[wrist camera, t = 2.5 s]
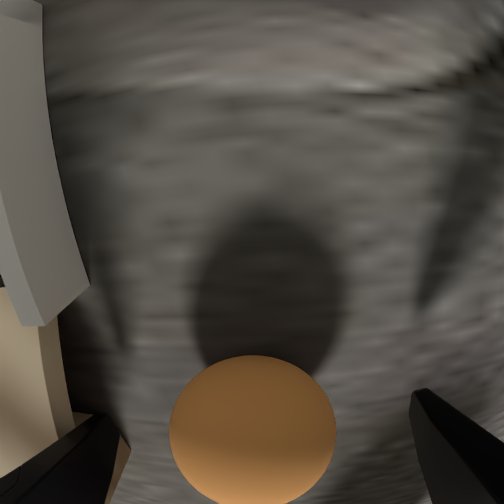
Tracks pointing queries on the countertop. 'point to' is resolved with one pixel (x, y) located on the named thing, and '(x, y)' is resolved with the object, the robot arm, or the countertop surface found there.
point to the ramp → (35, 393)
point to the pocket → (31, 179)
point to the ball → (252, 431)
